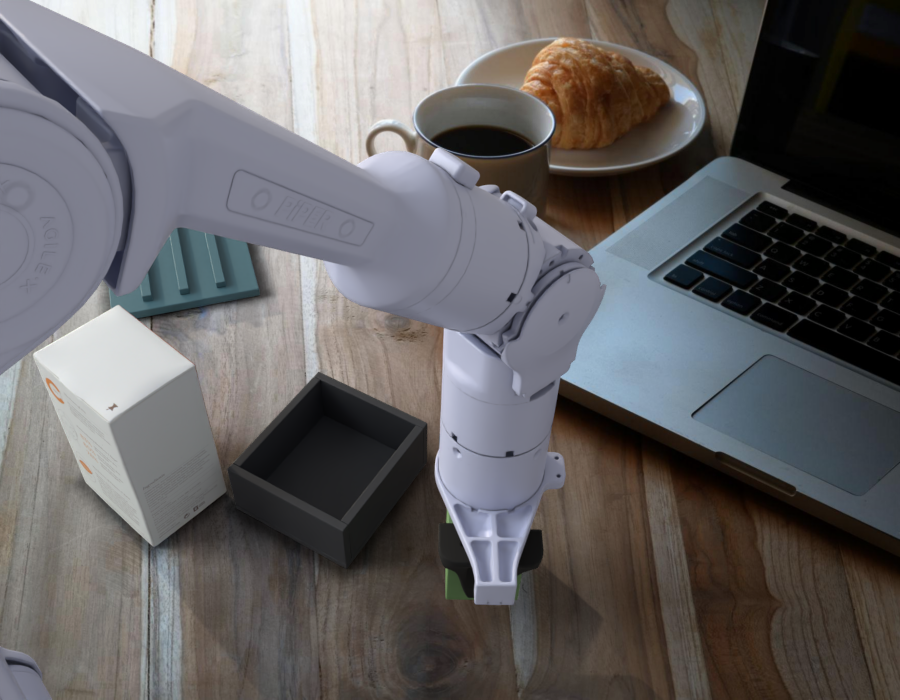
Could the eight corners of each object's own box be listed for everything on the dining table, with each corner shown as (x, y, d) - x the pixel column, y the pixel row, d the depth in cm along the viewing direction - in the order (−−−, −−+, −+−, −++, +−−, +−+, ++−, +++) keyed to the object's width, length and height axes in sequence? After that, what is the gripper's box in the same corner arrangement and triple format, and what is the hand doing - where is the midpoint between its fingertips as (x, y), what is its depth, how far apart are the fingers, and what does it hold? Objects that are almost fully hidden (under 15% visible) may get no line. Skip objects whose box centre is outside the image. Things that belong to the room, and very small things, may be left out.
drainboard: (260, 295, 79) (258, 283, 78) (113, 323, 76) (109, 310, 75) (225, 163, 92) (223, 151, 91) (99, 182, 89) (95, 170, 88)
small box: (229, 492, 65) (198, 364, 56) (153, 550, 61) (107, 425, 52) (158, 430, 68) (118, 301, 59) (83, 482, 65) (27, 354, 56)
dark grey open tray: (346, 569, 61) (342, 531, 58) (235, 508, 64) (226, 469, 61) (427, 462, 67) (427, 422, 64) (322, 411, 70) (318, 371, 67)
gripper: (591, 537, 42) (557, 670, 52) (562, 315, 52) (538, 462, 62) (435, 535, 42) (431, 669, 52) (437, 313, 52) (432, 461, 62)
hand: (481, 556), depth 57 cm, fingers closed on block, 4 cm apart
